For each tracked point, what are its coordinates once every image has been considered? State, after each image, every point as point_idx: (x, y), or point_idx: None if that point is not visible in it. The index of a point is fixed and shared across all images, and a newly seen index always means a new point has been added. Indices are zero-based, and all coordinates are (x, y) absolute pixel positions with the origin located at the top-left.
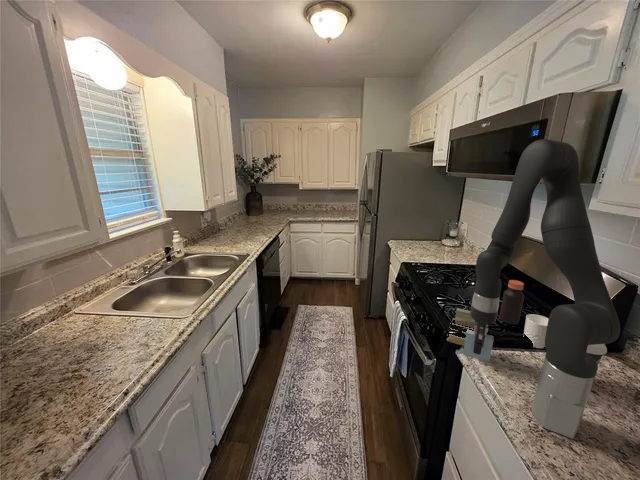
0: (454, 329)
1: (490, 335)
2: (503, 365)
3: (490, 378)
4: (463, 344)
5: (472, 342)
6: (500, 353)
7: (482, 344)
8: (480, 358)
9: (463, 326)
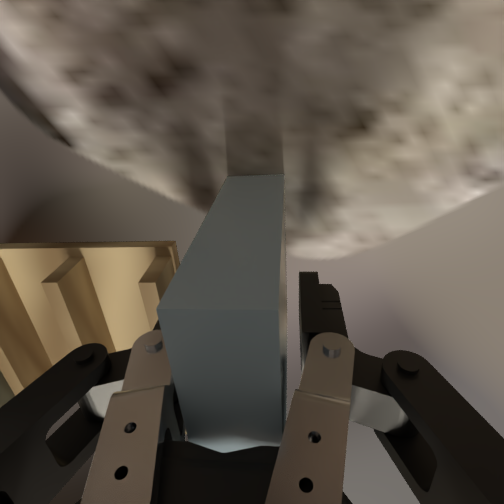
0: None
1: (166, 341)
2: (256, 63)
3: (493, 157)
4: None
5: (285, 383)
6: (90, 94)
7: (467, 411)
8: (285, 236)
9: (9, 373)
